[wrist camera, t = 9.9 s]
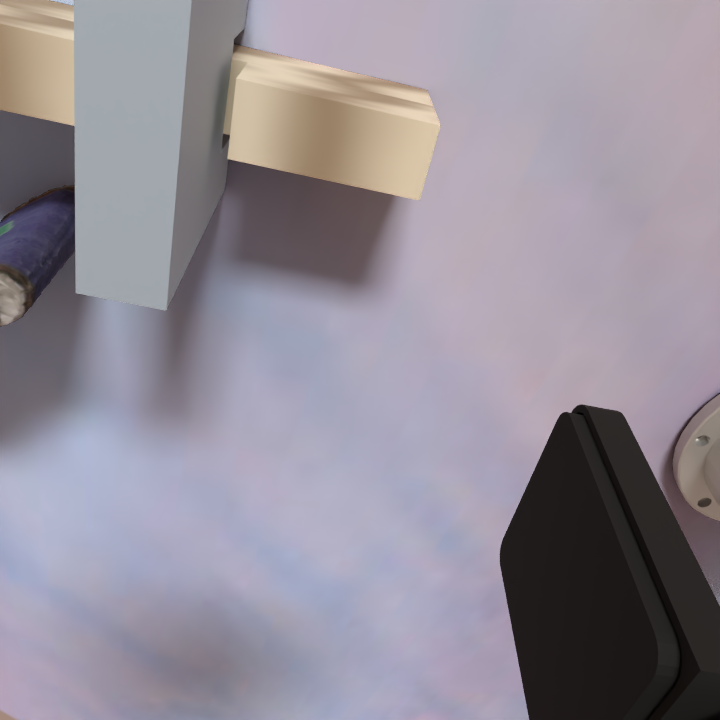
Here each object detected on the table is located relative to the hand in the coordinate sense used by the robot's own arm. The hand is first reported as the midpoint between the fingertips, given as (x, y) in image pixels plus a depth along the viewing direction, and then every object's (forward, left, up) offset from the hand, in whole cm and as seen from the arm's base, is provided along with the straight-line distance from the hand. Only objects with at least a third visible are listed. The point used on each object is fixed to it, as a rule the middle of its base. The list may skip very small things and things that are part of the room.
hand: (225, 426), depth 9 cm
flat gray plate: (+5, +1, -24) cm, 25 cm away
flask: (+13, +11, -25) cm, 30 cm away
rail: (+5, +1, -24) cm, 25 cm away
